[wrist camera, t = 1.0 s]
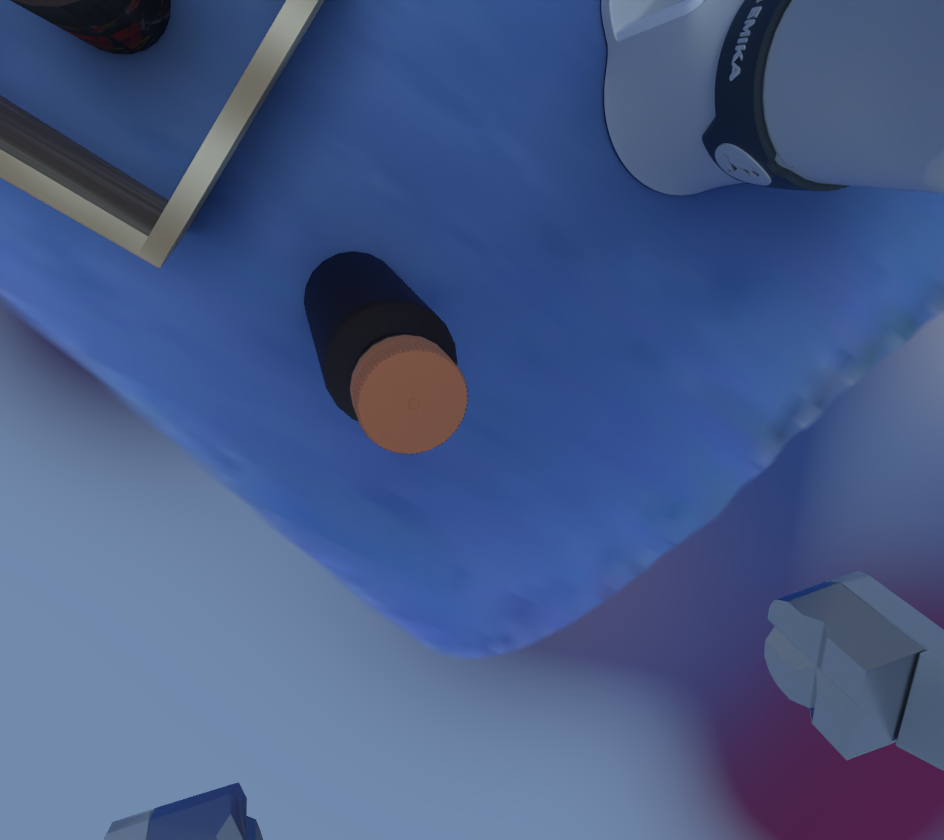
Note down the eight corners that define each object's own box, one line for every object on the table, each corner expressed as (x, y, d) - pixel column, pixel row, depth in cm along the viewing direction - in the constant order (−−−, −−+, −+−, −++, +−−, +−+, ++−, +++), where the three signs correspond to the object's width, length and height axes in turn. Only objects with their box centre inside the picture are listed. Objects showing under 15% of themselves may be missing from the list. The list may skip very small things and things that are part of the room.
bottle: (340, 229, 43) (397, 293, 25) (420, 288, 46) (519, 381, 29) (283, 311, 44) (300, 427, 26) (365, 364, 47) (428, 498, 30)
